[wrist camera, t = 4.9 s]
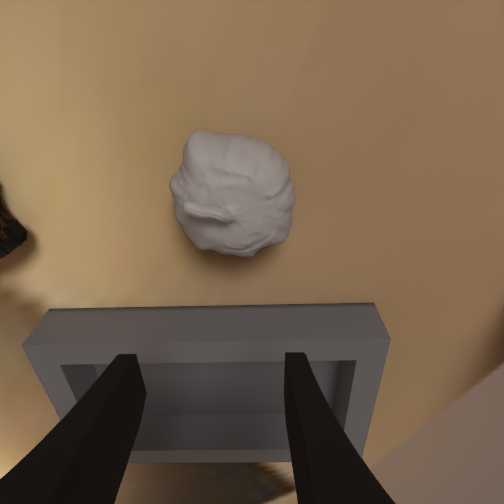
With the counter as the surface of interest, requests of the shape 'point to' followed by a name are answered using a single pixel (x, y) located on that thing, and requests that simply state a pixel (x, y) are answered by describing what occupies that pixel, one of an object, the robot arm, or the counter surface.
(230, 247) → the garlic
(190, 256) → the counter surface
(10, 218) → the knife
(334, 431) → the robot arm
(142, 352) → the tray
